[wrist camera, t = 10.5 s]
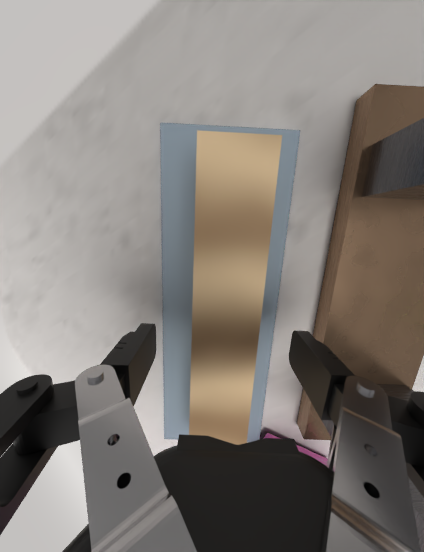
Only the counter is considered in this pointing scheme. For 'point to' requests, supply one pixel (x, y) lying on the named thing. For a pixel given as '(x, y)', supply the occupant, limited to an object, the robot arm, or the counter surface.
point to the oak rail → (229, 276)
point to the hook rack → (377, 256)
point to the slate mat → (180, 262)
